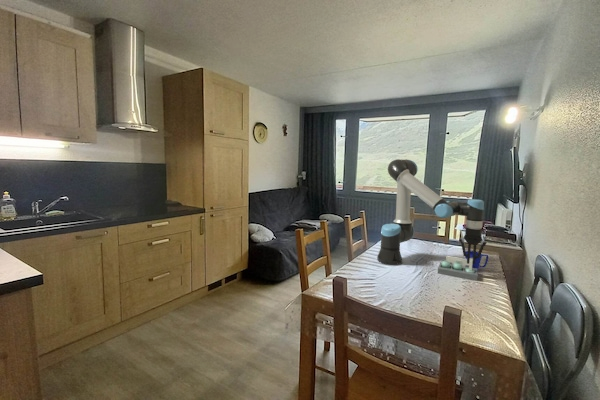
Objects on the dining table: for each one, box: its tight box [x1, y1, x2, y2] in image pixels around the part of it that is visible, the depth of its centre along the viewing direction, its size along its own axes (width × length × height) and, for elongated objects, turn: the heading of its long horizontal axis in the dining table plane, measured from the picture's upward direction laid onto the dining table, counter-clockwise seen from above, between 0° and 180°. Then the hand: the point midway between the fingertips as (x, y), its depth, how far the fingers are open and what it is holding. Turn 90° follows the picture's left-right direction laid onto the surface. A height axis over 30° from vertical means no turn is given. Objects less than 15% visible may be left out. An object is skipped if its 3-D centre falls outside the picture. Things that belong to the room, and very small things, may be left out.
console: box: [437, 261, 479, 282], centre depth 158 cm, size 19×12×3 cm, turn 58°
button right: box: [465, 268, 475, 273], centre depth 154 cm, size 4×4×3 cm
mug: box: [464, 250, 489, 271], centre depth 164 cm, size 8×12×10 cm
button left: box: [441, 260, 450, 268], centre depth 160 cm, size 4×4×3 cm
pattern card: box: [445, 255, 469, 267], centre depth 164 cm, size 13×1×7 cm, turn 58°
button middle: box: [453, 263, 462, 271], centre depth 157 cm, size 4×4×3 cm
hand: (470, 269), depth 154 cm, fingers closed
